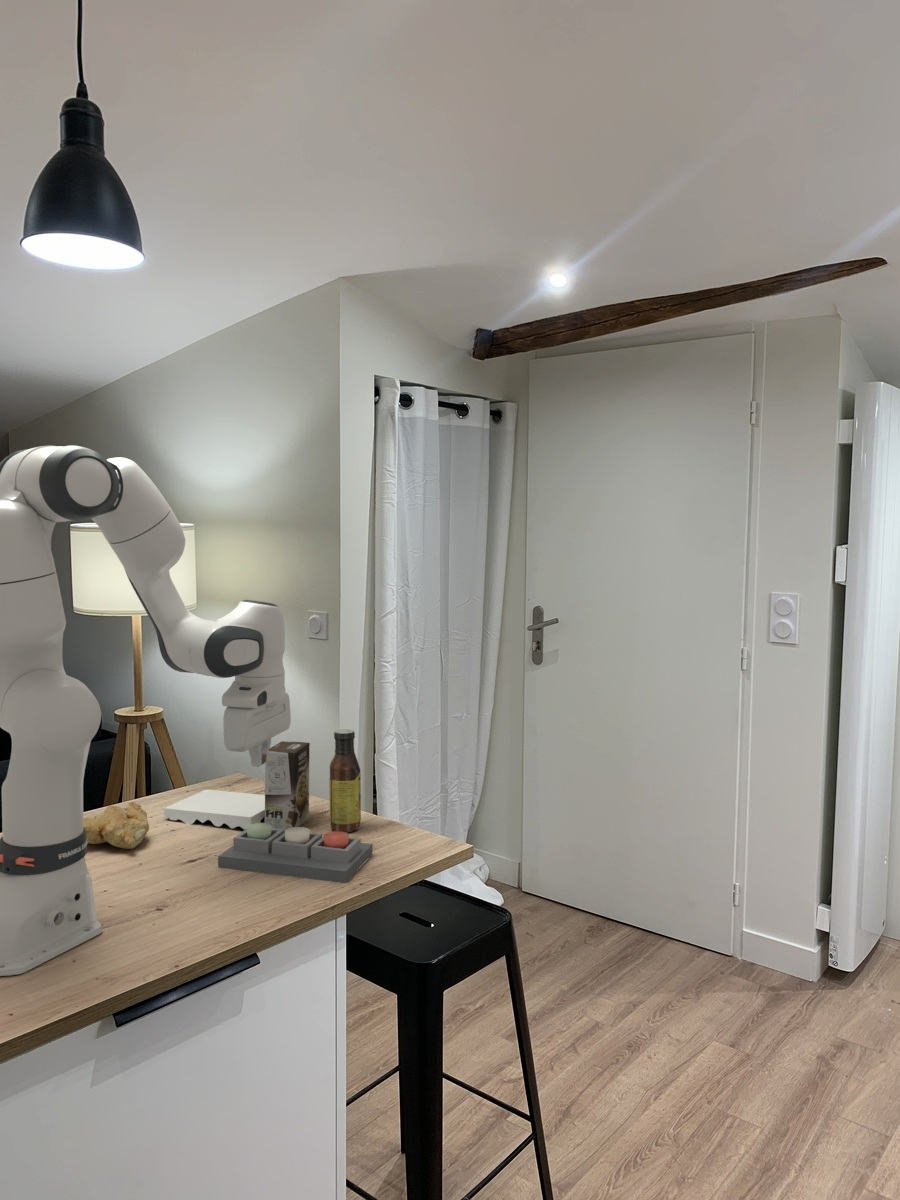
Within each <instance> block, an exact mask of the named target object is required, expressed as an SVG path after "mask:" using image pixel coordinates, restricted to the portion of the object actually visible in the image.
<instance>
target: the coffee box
mask: <svg viewBox="0 0 900 1200" xmlns="http://www.w3.org/2000/svg"><path fill="white" fill-rule="evenodd" d="M310 745H311V744H310V742H303V741H280V742H278V743H277V744H275V745H273V746H270V748H269V752H268V761H267V762H266V763H264V765H265V768H264V769H265V770H264V772H265V773H264V795H265V816H264V823H267V824H270V825H271V828H273V829H282V830H284V832H285V830H287V829H289V828H293V827H301V826H302V825H303V824H304V823H305V822H307V820H309V818H310Z"/></svg>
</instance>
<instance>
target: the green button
mask: <svg viewBox="0 0 900 1200" xmlns="http://www.w3.org/2000/svg"><path fill="white" fill-rule="evenodd" d="M269 837H271V825H270V824H267V823H265V822H260V823H254V824H250V825H248V826H247V838H253V839H262V840H267V839H268V838H269Z"/></svg>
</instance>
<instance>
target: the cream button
mask: <svg viewBox="0 0 900 1200" xmlns="http://www.w3.org/2000/svg"><path fill="white" fill-rule="evenodd" d="M284 833H285V842H288V843H297V844H306V843H307V842H308V841H310V833H311V831H310V829H309V828H307V827H304V826H303V827H302V826H299V827H293V828H289V829H287V830H285V831H284Z"/></svg>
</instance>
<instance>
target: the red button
mask: <svg viewBox="0 0 900 1200" xmlns="http://www.w3.org/2000/svg"><path fill="white" fill-rule="evenodd" d="M323 836H324V847H332V848H340V849H345V848H346V847H347V846H348V842H349V837H350V836H349V834H348V832H347V833H345V832H341V831H333V830H332V831H329V832H325V833H324V834H323Z"/></svg>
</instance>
